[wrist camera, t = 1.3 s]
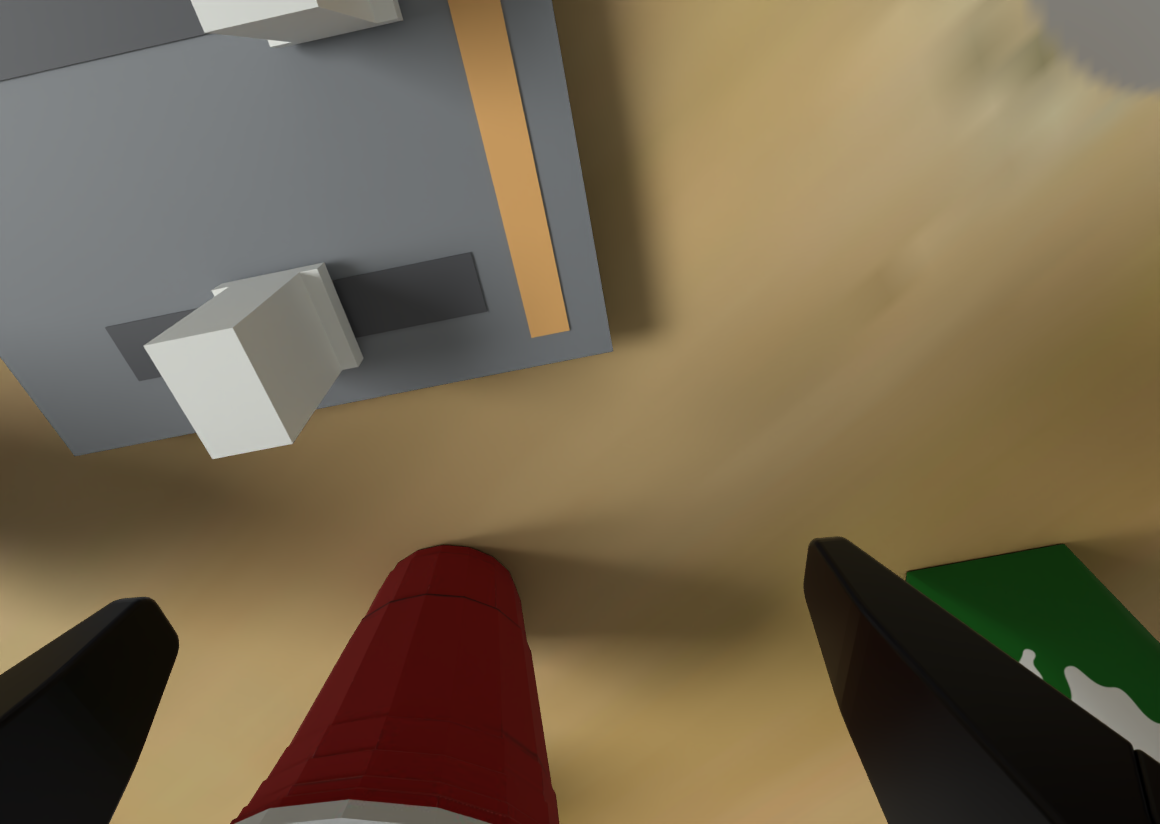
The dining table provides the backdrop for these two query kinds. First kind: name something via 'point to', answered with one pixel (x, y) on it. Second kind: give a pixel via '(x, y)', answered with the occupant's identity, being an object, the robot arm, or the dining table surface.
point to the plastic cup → (423, 710)
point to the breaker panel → (285, 197)
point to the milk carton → (1059, 632)
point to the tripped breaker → (257, 358)
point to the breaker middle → (293, 18)
